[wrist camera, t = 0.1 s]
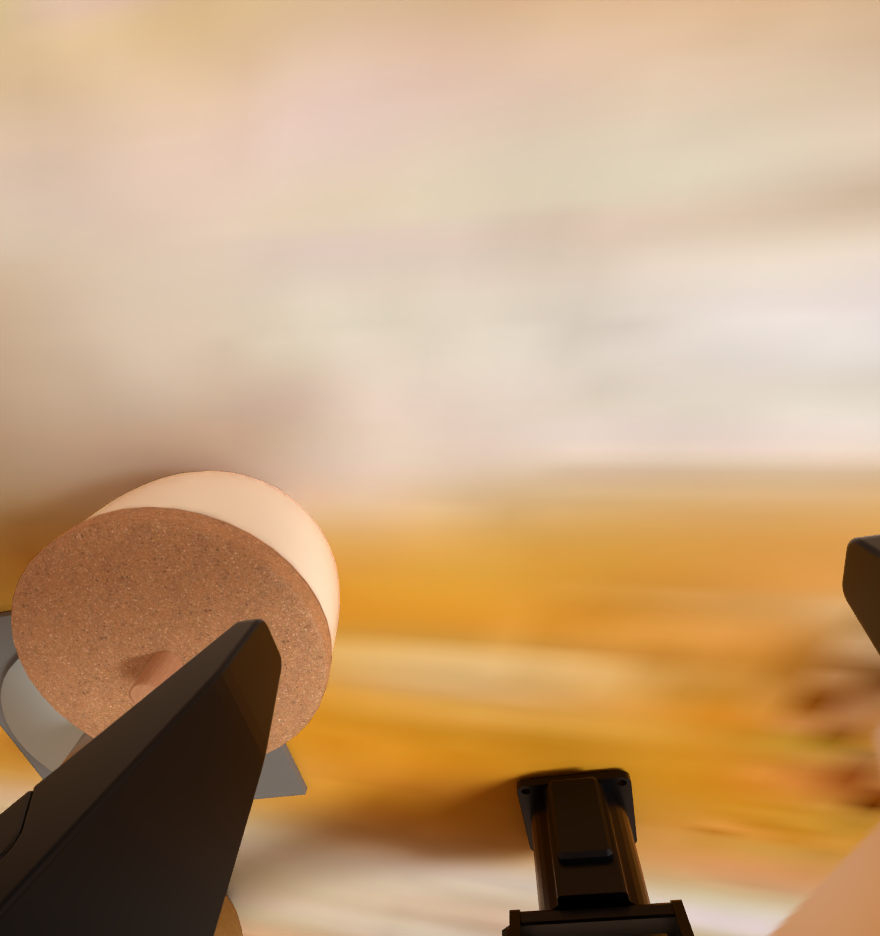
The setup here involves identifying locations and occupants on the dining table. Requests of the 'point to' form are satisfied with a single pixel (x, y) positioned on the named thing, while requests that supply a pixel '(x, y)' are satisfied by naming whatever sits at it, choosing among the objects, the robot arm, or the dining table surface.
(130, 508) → the lidded jar
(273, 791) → the mat
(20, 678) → the lid
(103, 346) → the dining table surface
